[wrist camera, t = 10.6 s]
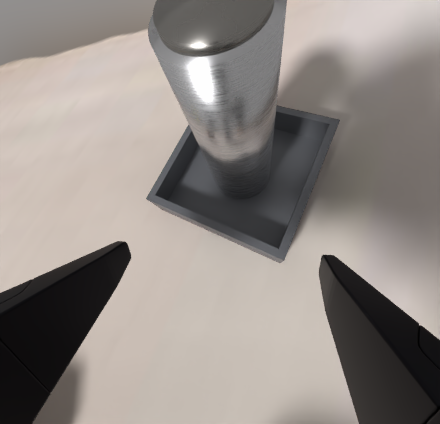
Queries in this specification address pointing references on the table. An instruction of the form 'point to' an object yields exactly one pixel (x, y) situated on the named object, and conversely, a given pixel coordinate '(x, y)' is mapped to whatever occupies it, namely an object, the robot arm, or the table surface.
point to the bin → (259, 204)
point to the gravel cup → (225, 81)
